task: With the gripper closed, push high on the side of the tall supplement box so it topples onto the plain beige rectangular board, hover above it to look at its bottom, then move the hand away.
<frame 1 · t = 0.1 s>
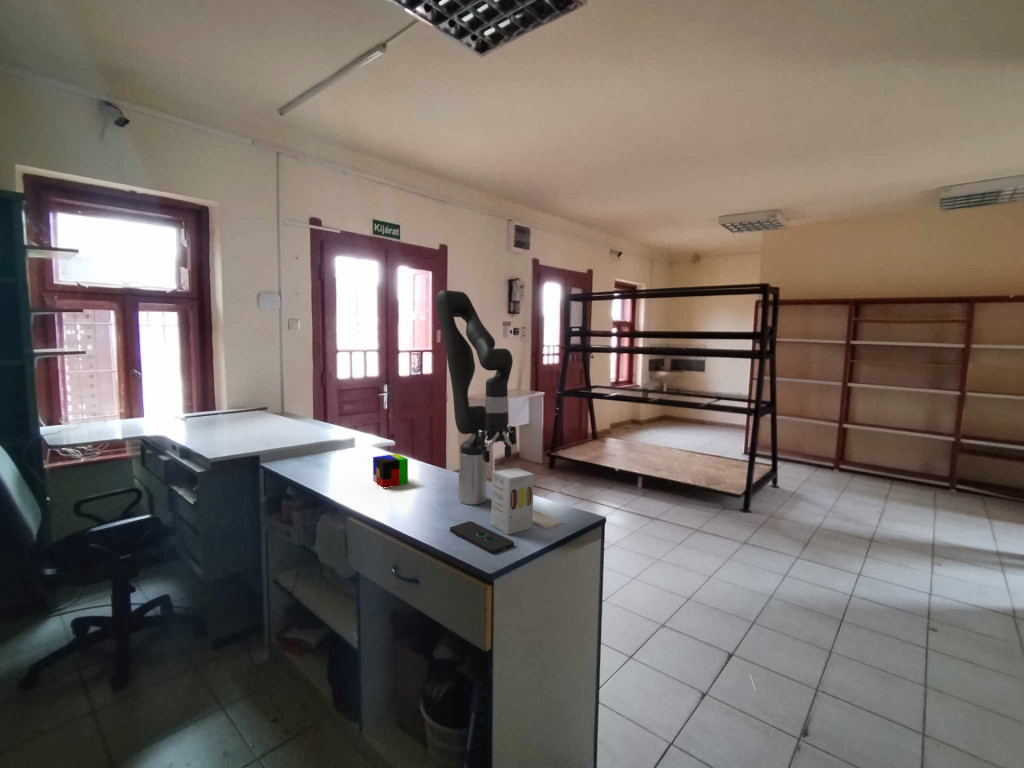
hand: (497, 459, 153), 17 cm above the table, tool pointing down, fingers open, 8 cm apart
plain beige rectangular board: (537, 518, 149), on the table
puzzle toy: (390, 483, 183), on the table
smart home device: (480, 540, 134), on the table
supplement box: (511, 527, 142), on the table
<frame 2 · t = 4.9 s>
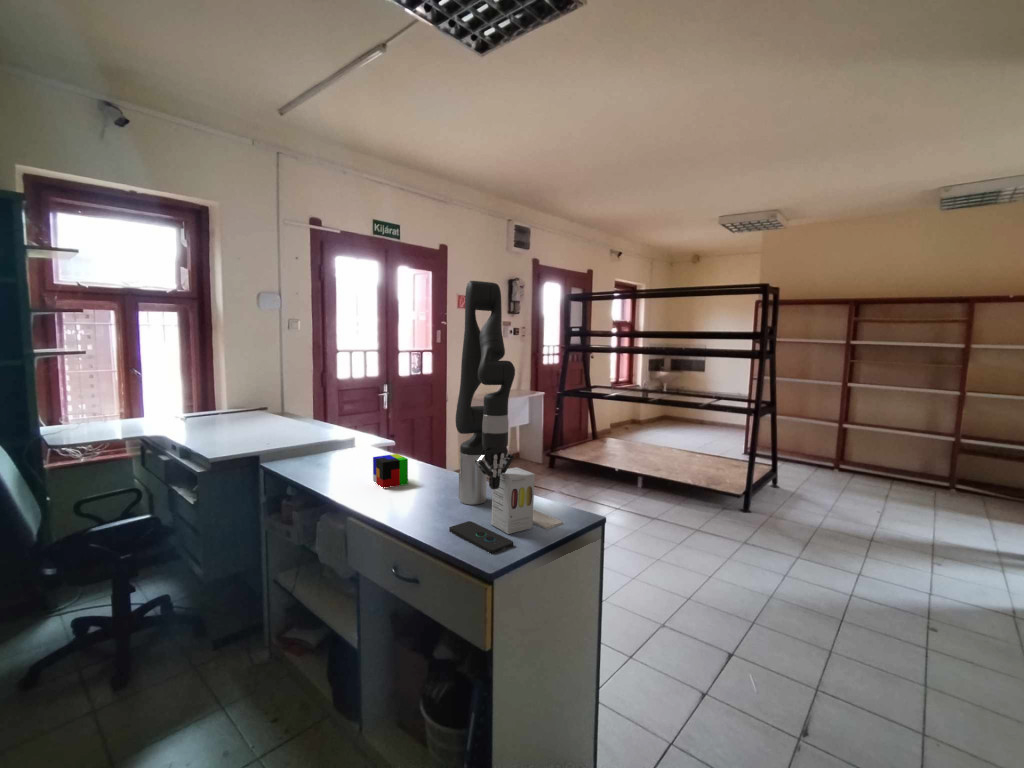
hand: (494, 488, 137), 13 cm above the table, tool pointing down, fingers closed
supplement box: (511, 527, 142), on the table, touching gripper
everything else where it was.
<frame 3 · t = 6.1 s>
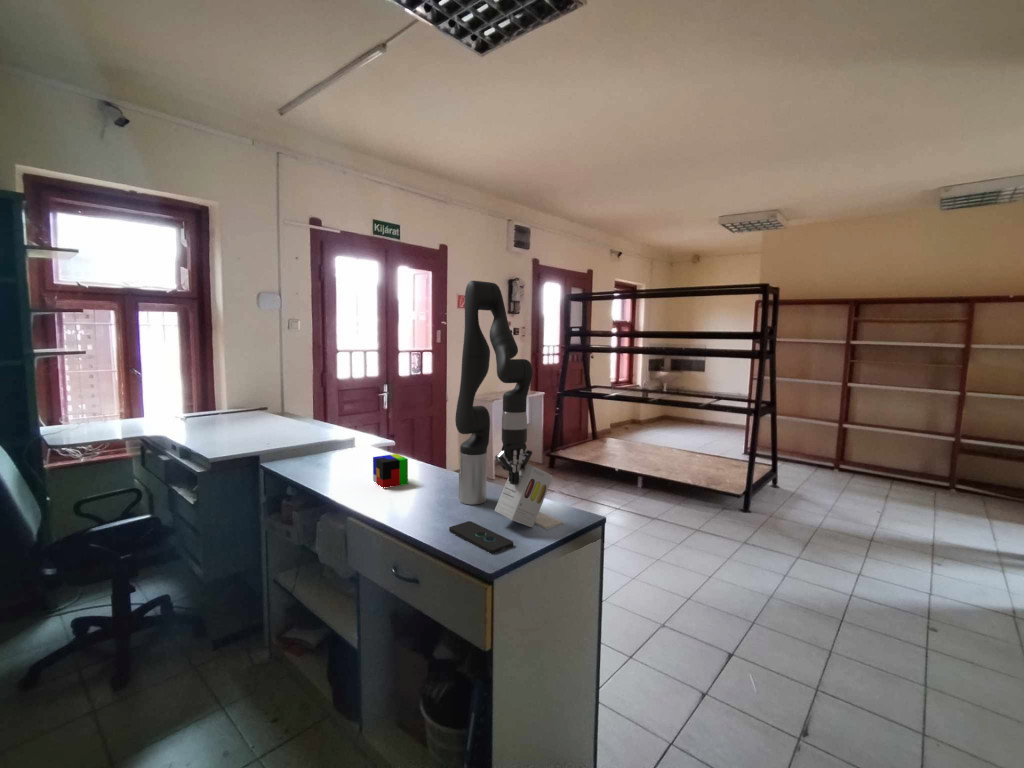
hand: (513, 483, 141), 13 cm above the table, tool pointing down, fingers closed
supplement box: (513, 520, 142), point 2 cm above the table, touching gripper
everything else where it was.
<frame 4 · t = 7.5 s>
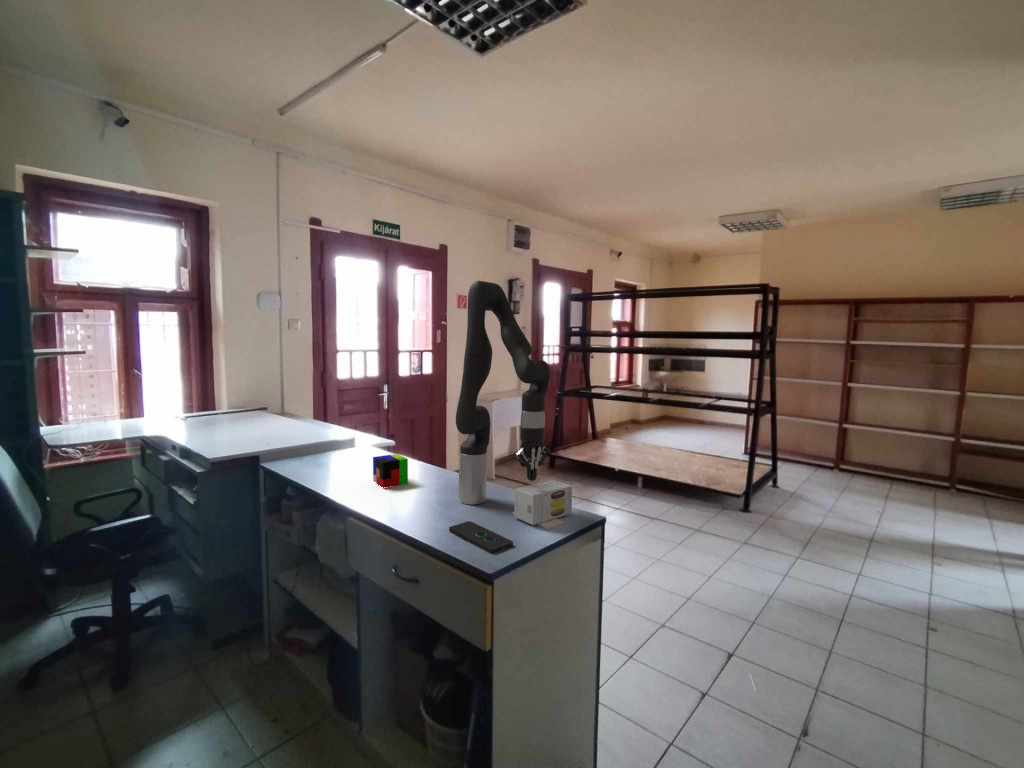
hand: (531, 480, 146), 13 cm above the table, tool pointing down, fingers closed
supplement box: (522, 506, 144), point 5 cm above the table, touching plain beige rectangular board
everything else where it was.
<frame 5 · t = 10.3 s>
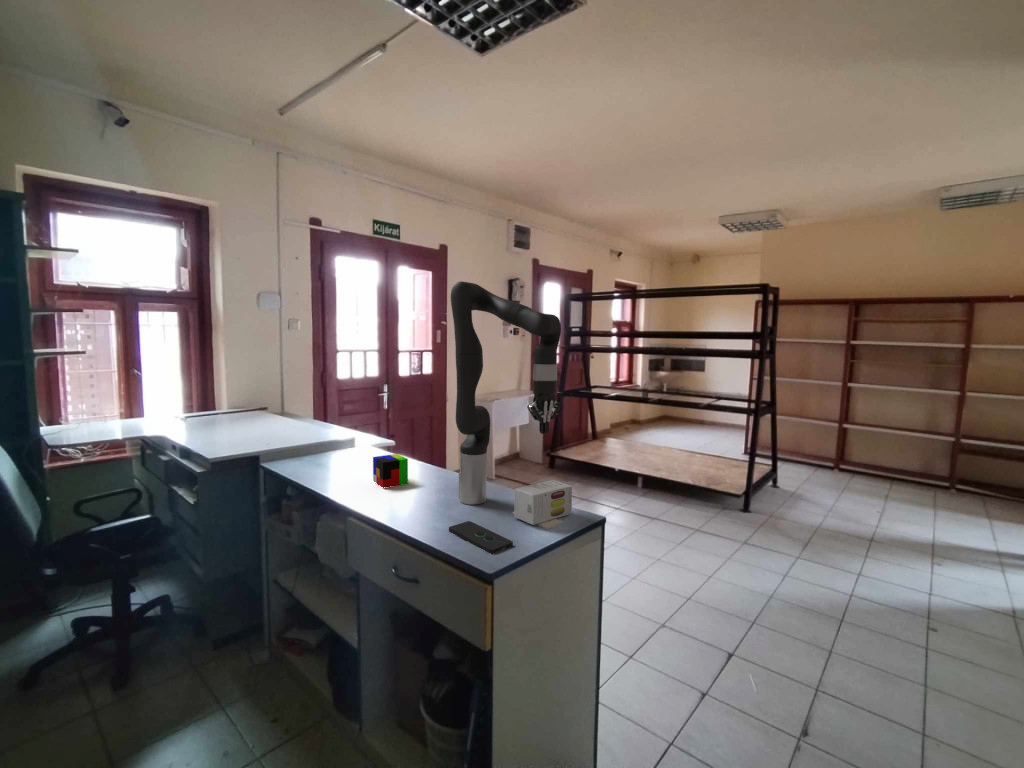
hand: (543, 433, 148), 27 cm above the table, tool pointing down, fingers closed
nothing on the table moved.
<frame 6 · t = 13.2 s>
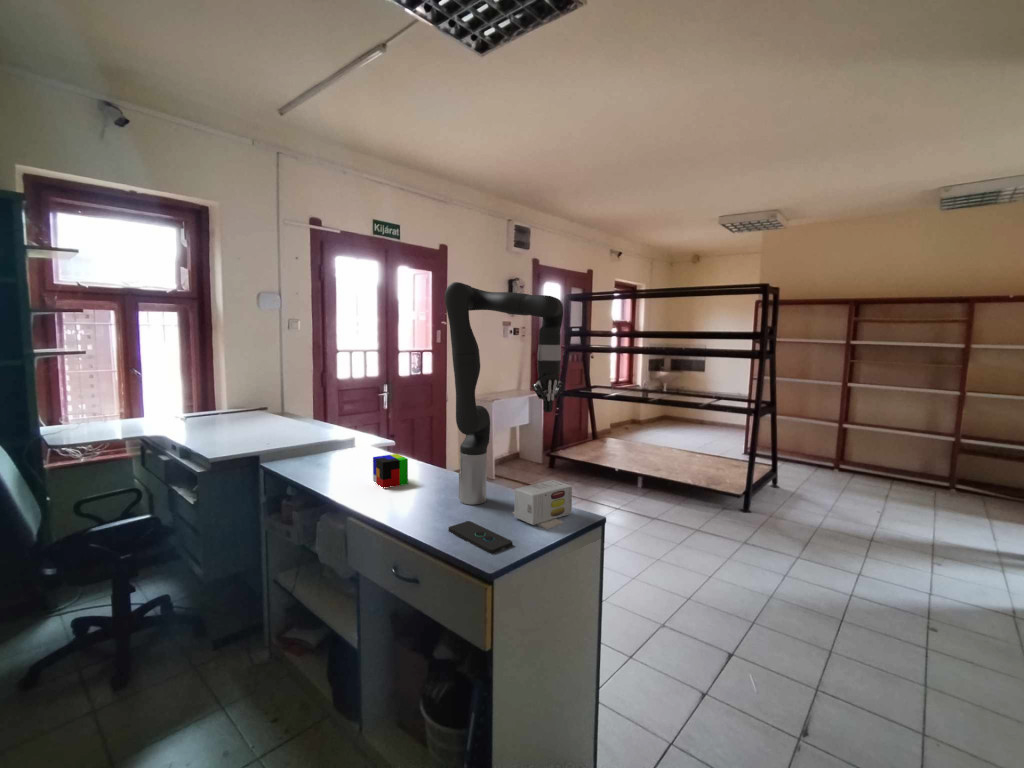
hand: (547, 411, 154), 33 cm above the table, tool pointing down, fingers closed
nothing on the table moved.
at the end: supplement box tilted 89°; supplement box touching plain beige rectangular board; supplement box inside the target area (4.9 cm from its centre), point 5.3 cm above the table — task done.
